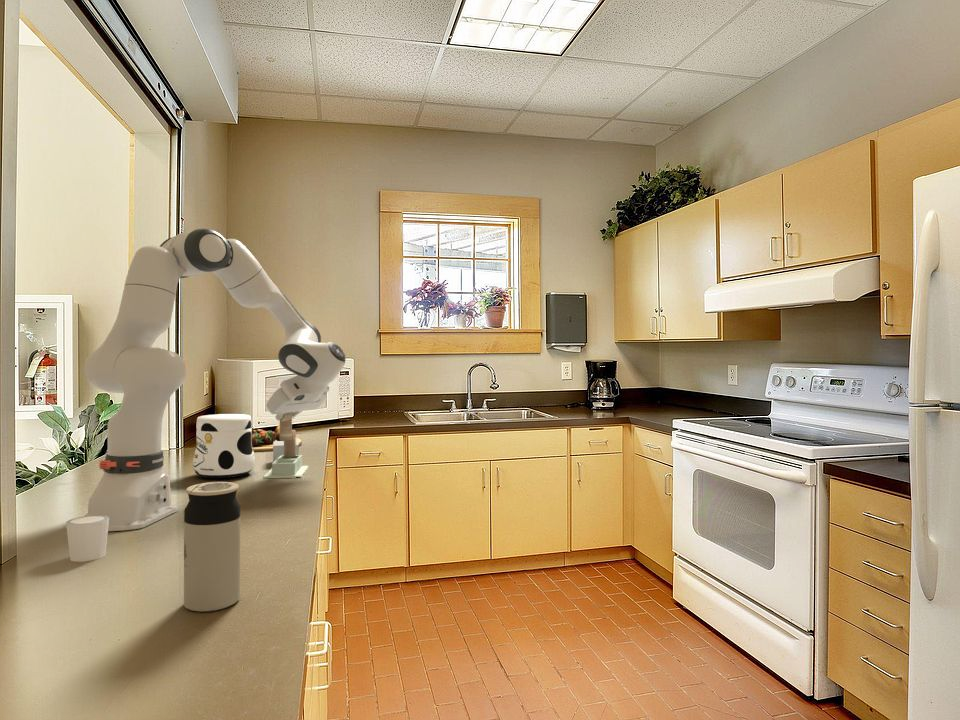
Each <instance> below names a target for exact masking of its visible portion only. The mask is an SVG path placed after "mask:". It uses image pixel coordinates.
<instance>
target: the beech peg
mask: <svg viewBox="0 0 960 720" xmlns="http://www.w3.org/2000/svg"><path fill="white" fill-rule="evenodd" d="M283 416H284V418H283V419H282V420H279V424H280V440H292V430H293V419H292V412H289V413H285V414H283Z"/></svg>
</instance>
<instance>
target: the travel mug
mask: <svg viewBox="0 0 960 720" xmlns="http://www.w3.org/2000/svg"><path fill="white" fill-rule="evenodd" d="M239 487H240V486H239V484H237V483H235V482H231V481H229V482H228V481H210V482H202V483H197V484H192V485H191V486H188V487H187V488H186V489H185V491H186V494H187V496H188V503H187V505H186V506H185V508H184V509H183V535H184V536H183V539H184V540H183V606H184V608H186V609H187V610H190V611H192V612H193V611H194V612H200V613H209V612H216V611H219V610H224V609H227V608H229V607H230V606H232V605H234V604H236V603H237V602H238V601H239V600H240V598H241V504H240V502H239V501H238V498H237V497H236V496H237V492H238V490H239Z"/></svg>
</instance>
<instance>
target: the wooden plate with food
mask: <svg viewBox="0 0 960 720" xmlns="http://www.w3.org/2000/svg"><path fill="white" fill-rule="evenodd" d="M297 440H298V444H299V447H301V445H302V443H303V442H302V440H301V439H300V438H298V437H296V441H297ZM274 441H284V440H280V423H279V424H278V425H277V426H276V427H275V430H274V431H272V430H267V431H266V430H264V429H254V430H252V437H251V442H252V448H253V451H254V453H265V452H268V453H269V452H273V442H274Z"/></svg>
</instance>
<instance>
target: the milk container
mask: <svg viewBox="0 0 960 720" xmlns="http://www.w3.org/2000/svg"><path fill="white" fill-rule="evenodd" d="M252 431H253V429H252V417H251V415H250V414H245V413H243V414H242V413H241V414H240V413H218V414H216V413H215V414H206V415H200V416H198V417H197V418H196V431H195V432H196V435H195V436H196V439H195V440H196V446H195V451H194V454H193V457H192V466H193V467H192V468H193V471H194V473H195V474H196V475H198V476H199V477H203V478H208V479H226V478H227V479H229V478H237V477H241V476H244V475H247V474H248V473H250V472H252V470H253V469H254V467H255V461H256V460H255V459H256V458H255V452H254V451H253V448H252V442H251V437H252Z"/></svg>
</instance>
